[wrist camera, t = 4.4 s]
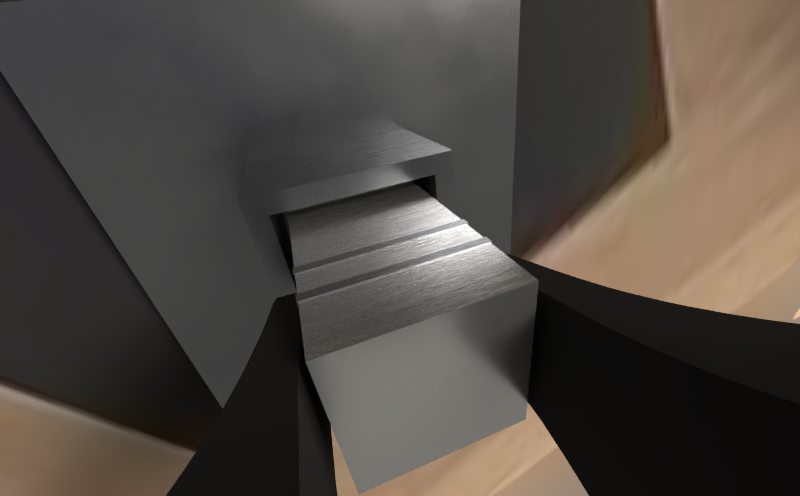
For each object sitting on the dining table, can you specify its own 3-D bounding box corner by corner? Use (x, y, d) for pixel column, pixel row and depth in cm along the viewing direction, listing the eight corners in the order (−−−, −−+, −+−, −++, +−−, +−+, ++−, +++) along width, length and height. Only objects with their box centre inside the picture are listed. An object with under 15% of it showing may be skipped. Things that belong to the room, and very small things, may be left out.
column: (314, 286, 14) (357, 496, 7) (283, 191, 12) (301, 360, 5) (408, 257, 14) (526, 419, 8) (395, 165, 12) (541, 277, 6)
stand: (223, 398, 17) (209, 496, 13) (-24, 10, 9) (-260, -38, 5) (502, 299, 20) (556, 353, 16) (511, -43, 12) (624, -96, 8)
